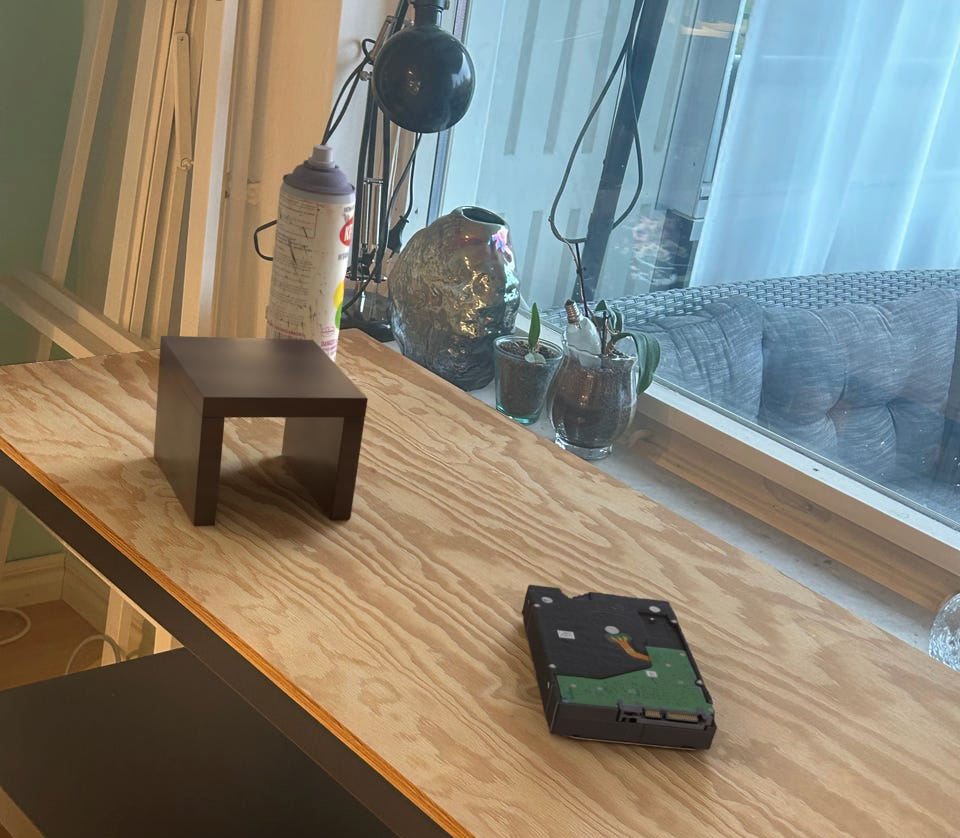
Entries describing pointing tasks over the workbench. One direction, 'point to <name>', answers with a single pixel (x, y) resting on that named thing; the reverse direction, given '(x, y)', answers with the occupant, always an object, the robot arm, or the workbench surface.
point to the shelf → (256, 415)
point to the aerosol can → (311, 252)
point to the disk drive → (616, 670)
